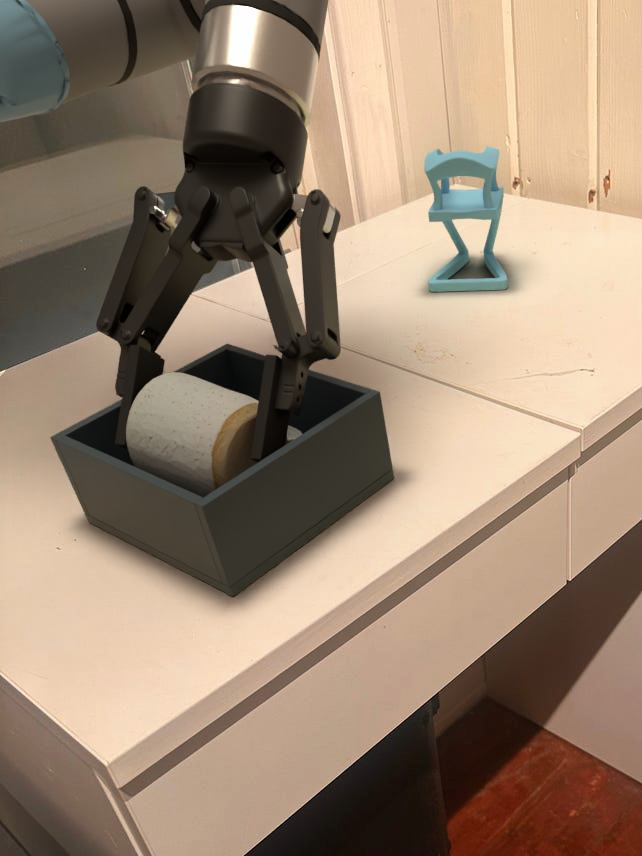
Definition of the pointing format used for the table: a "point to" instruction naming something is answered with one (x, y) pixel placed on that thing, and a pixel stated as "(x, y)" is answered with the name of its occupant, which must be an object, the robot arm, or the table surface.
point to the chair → (466, 213)
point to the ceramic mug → (192, 432)
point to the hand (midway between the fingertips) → (198, 456)
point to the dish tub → (237, 479)
